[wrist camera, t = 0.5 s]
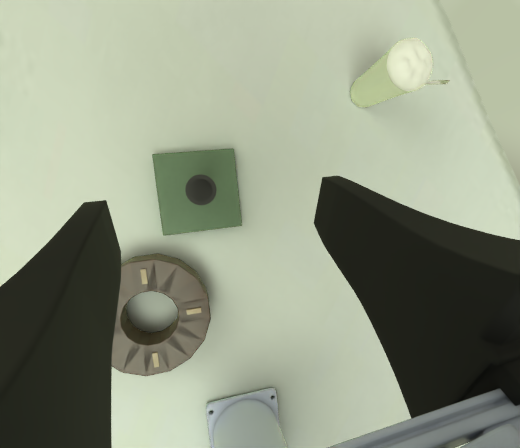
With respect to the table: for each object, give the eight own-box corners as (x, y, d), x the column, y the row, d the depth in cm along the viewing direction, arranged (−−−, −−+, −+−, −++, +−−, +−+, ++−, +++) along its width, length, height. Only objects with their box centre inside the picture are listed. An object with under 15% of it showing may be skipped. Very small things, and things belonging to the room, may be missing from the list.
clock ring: (213, 348, 35) (216, 362, 32) (103, 370, 33) (94, 388, 30) (201, 247, 34) (202, 252, 31) (86, 263, 31) (75, 270, 28)
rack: (240, 224, 35) (252, 231, 28) (163, 234, 33) (158, 242, 26) (232, 150, 34) (242, 138, 27) (153, 155, 32) (144, 144, 26)
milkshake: (368, 127, 37) (432, 101, 27) (336, 93, 36) (392, 54, 26) (391, 98, 37) (463, 63, 28) (361, 64, 36) (425, 15, 27)
